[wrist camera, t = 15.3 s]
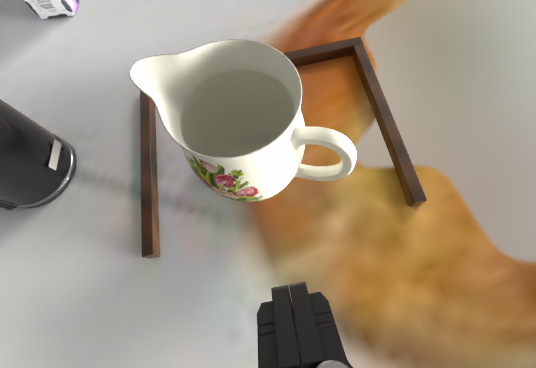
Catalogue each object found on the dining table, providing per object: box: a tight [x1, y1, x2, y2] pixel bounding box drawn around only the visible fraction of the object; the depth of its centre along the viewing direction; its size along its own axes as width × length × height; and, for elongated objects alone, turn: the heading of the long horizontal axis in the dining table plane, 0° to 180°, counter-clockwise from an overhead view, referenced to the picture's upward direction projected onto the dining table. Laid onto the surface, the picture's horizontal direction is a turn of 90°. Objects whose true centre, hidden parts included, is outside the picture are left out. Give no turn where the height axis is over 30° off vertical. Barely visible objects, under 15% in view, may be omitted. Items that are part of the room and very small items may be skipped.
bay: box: [140, 37, 427, 259], centre depth 33 cm, size 22×29×2 cm
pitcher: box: [129, 39, 357, 202], centre depth 26 cm, size 11×18×14 cm, turn 71°
